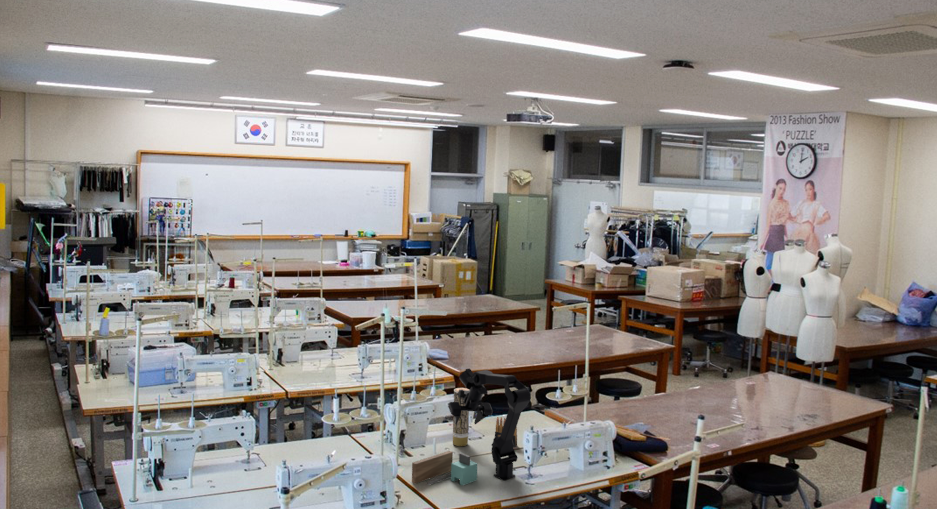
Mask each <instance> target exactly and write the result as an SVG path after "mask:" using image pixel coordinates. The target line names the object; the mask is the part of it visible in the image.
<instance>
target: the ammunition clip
mask: <svg viewBox="0 0 937 509" xmlns="http://www.w3.org/2000/svg"><path fill="white" fill-rule="evenodd" d="M505 420H506V417H504V418H503V417H500V419H499V416H497V418H496V420H495V421H496V424H495V431H494V438H495V437H499V436H500V435H501V432H502V429H503V426H504V423H505ZM517 426H518V425H517ZM517 426H516V429H515V432H514V435H513V438H512V441H513V444H514V448H517V447H518V433H517V432H518V427H517Z"/></svg>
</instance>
